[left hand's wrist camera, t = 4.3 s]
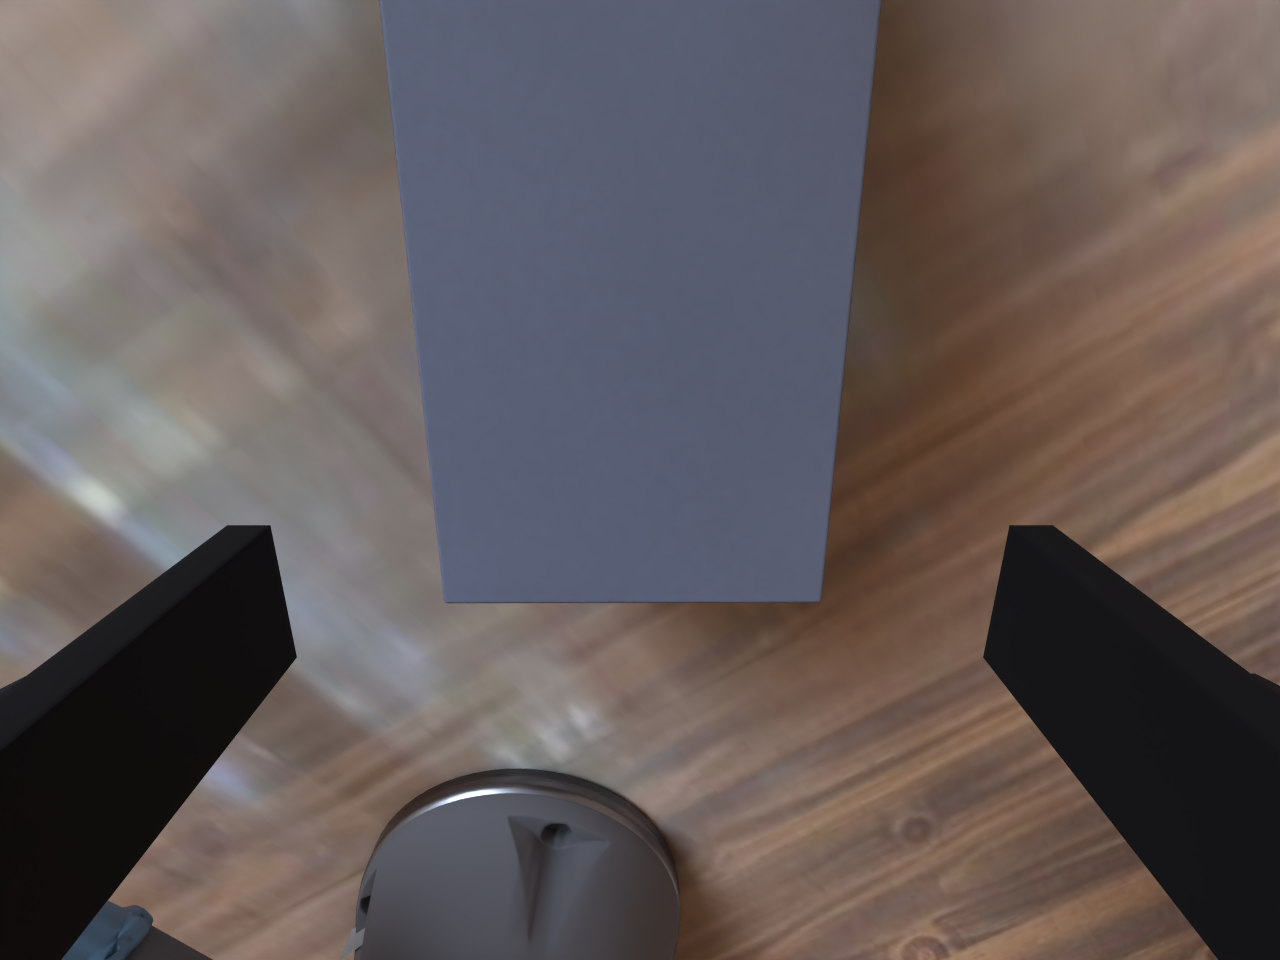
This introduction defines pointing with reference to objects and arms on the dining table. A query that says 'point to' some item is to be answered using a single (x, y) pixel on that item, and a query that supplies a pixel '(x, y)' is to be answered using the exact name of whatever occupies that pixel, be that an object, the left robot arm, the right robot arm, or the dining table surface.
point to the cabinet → (631, 287)
